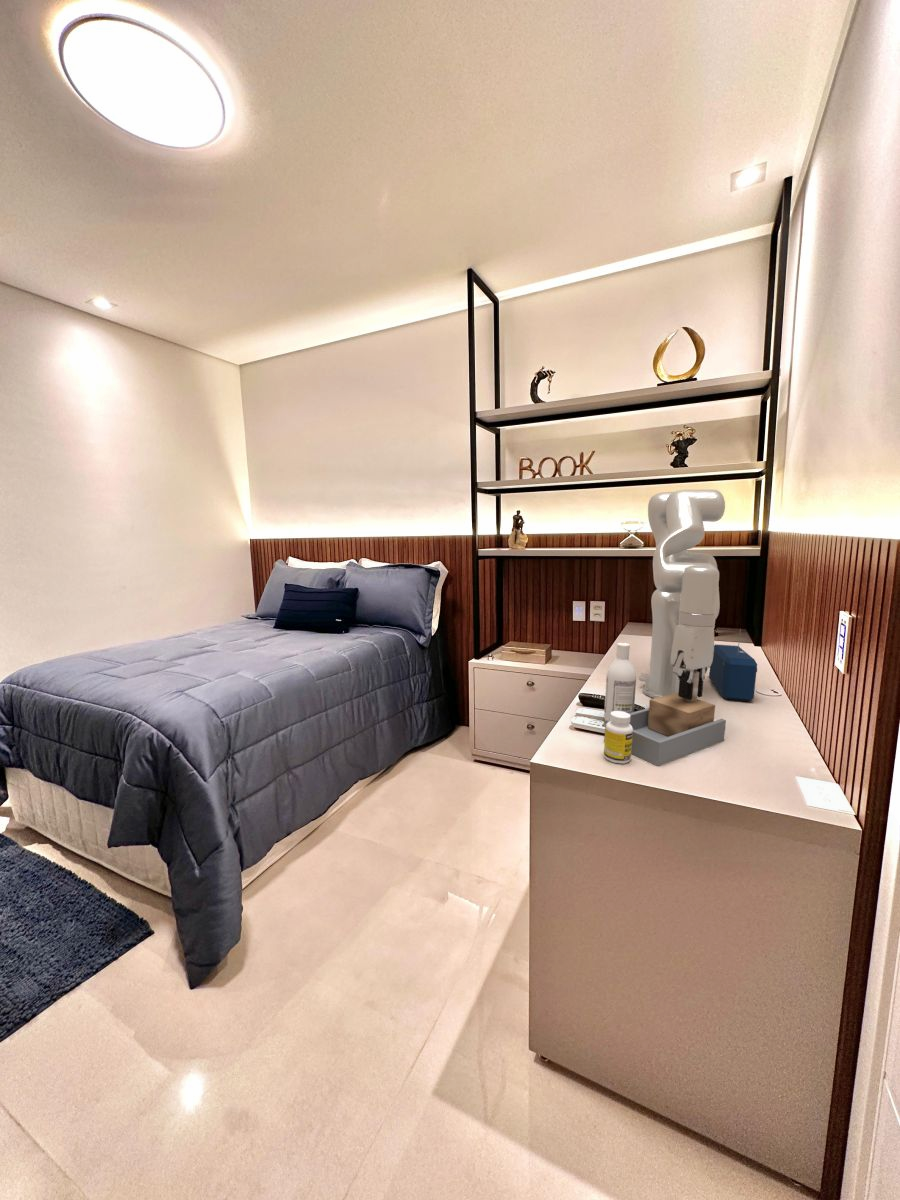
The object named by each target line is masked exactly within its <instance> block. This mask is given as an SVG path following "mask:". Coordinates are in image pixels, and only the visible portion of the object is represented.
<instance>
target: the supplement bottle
mask: <svg viewBox="0 0 900 1200" xmlns="http://www.w3.org/2000/svg"><path fill="white" fill-rule="evenodd" d="M610 720H611V721H609V722H608V723H607V724H606V731H605V730H604V737H605V741H604V748H603V757H604V758H605V760H607V761H608V762H610V763H615V764H627V763H629V762H630V761H631V760H632V759H631V758H632V754H631V748H632V735H633V728H632V726H631V725H630V724H629V723H630V714H628V713H626V712H622V711H613V712H611V713H610Z"/></svg>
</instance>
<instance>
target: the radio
mask: <svg viewBox="0 0 900 1200" xmlns="http://www.w3.org/2000/svg"><path fill="white" fill-rule="evenodd" d="M739 632H741V628H740V629H739ZM740 640H741V633H739V636H738V642H740ZM757 672H758V663H757V662H756V660H755V658H753V657H752V656H751V655H750V654H748V653H747V652H746V651H745V650H744V649H742V648H741V646H740V643H738V644H737V645H730V644H715V643H714V655H713V661H712V664H711V666H710V667H709V672H708V673H709V675H708V679H709V680H710V681H711V683H712V685H713V686H714V687H715V688H716V689H717V691H718V692H719V694H720V695H721V696H722V698H723V699H724V700H734V701H745V702H751V701H752V700H753V699H754V697H755V689H756V681H757Z"/></svg>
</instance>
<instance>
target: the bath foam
mask: <svg viewBox="0 0 900 1200" xmlns="http://www.w3.org/2000/svg"><path fill="white" fill-rule="evenodd" d="M630 646H631V645H630V644H629V643H628V642H618V643H616V657H615V659H614V660H613V661H612V662H611V663H610V665H609V667H608V668H607V672H606V678H605V694H604V695H605V696H604V709H603V711H604V713H603V719H604V718H605V719H606V720H608V719H610V713H611V712H613V711H622V712H626V713H628V714H629V713H632V712H635V703H636V702H635V701H636V700H635V699H636V688H637V687H636V686H637V684H636V683H637V673H636V670H635V667H634V666H633V663H632V662H631V660H630Z"/></svg>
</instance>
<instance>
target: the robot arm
mask: <svg viewBox="0 0 900 1200" xmlns="http://www.w3.org/2000/svg"><path fill="white" fill-rule="evenodd" d="M647 504H648V505H647V516H648V517H647V518H648V522H649V526H650V529H651V532H652V535H653V536H654V537H653V538H654V541H655V550H654V553H653V556H652V573H653V584H654V586H655V588H656V589H655V590H654V591H653V593H652V595H651V601H650V602H651V603H650V604H651V613H652V616H651V617H652V631H651V632H652V633H651V648H650V659H649V660H650V662H649V673H648V674H647V673H644V672H641V673H640V675H639V676H638V680H639V681H640V682H644V683H645V684H644V686H642V693H643V694H645V695H646V696H647V697H650V698H652V699H654V698H657V697H661V696H665V695H668V694H672V693H678V696H679V697H682V698H685V699H688V700H691V699H692V695H693V684H694V683H691V682H692V677H693V670H697V671H699V682H698V694H697V698H702V697H703V690H704V689H703V688H704V680H705V678H706V673H707V672H708V670H709V669H710V666H711V664H712V661H713V655H714V645H715V624H716V620H717V618H718V616H719V614H720V608H721V607H720V604H721V603H720V591H719V590H720V587H719V581H720V571H719V569H718V564H717V561H716V559H715V557H714V556H713V555H711V554H710V553H705V552H690V551H688V550H690V549H692V548H694V547H695V546H697V545H699V544H700V543H701V542H702V541H703V539H704V538H705V527H704V522H711V523H713V522H714V523H715V522H717V521H718V522H719V521H720V520H721V519H722V518H723V516H724V515H725V512H726V511H725V509H726V501H725V497H724V495H723V493H722V492H721V491H720V490H717V489H679V490H676V491H665V492H664V491H663V492H659V493H656V494H653V495H652V496H651V497H650V499H649V501H648V503H647ZM685 671H686V672H688V675H687V674H686V673H685Z"/></svg>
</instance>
